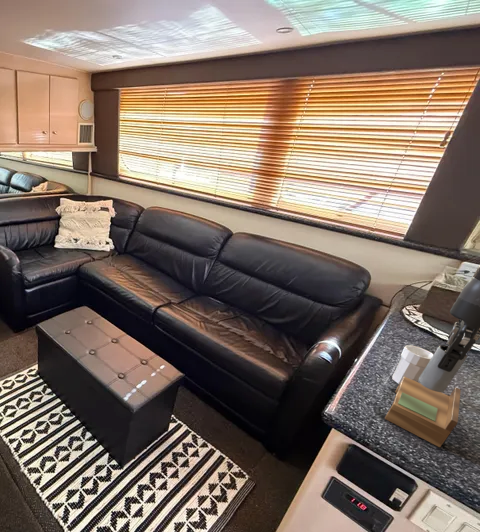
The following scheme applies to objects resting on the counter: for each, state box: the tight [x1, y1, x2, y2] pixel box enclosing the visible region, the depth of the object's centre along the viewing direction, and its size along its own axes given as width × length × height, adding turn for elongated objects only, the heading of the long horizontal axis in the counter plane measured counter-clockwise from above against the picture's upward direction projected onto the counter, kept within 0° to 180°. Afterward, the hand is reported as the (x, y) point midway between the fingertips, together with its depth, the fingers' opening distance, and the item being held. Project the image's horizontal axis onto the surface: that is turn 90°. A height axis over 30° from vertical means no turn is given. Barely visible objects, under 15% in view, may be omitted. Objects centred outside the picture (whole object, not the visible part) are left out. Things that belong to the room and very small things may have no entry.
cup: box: [391, 344, 434, 385], centre depth 94 cm, size 7×7×11 cm
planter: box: [418, 344, 468, 393], centre depth 75 cm, size 4×4×10 cm
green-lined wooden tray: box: [384, 377, 462, 448], centre depth 82 cm, size 18×10×8 cm, turn 129°
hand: (444, 364), depth 75 cm, fingers closed on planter, 4 cm apart
